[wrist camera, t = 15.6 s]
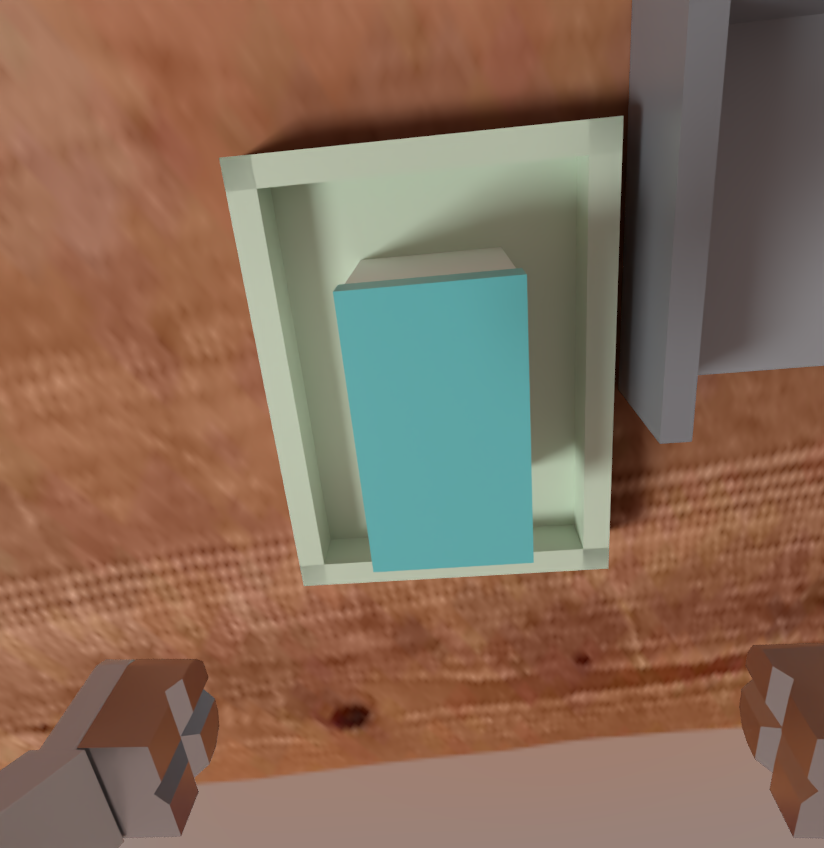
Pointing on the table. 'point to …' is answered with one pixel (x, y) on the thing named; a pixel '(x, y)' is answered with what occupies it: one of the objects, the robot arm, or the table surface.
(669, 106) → the bay
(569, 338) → the tray
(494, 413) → the teal-topped block
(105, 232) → the table surface
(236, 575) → the table surface
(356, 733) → the table surface
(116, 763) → the robot arm
